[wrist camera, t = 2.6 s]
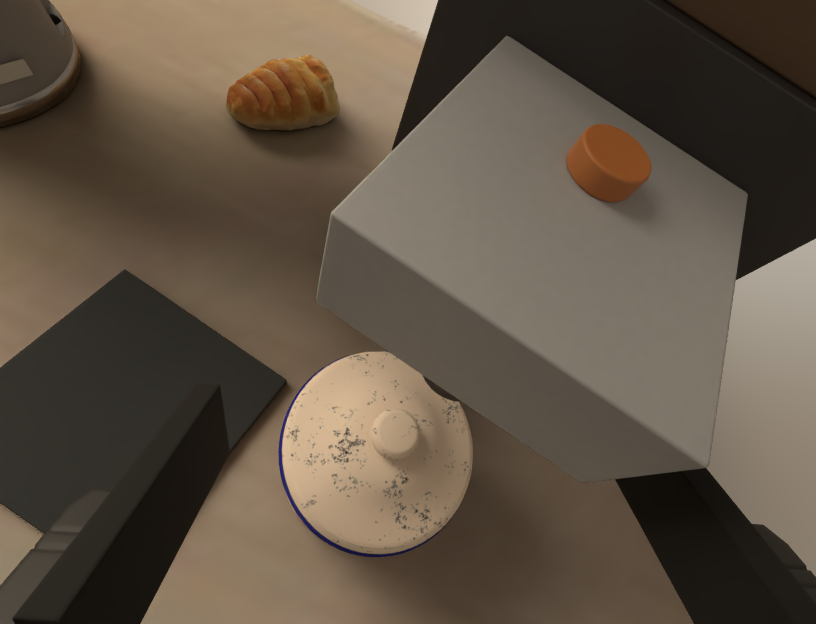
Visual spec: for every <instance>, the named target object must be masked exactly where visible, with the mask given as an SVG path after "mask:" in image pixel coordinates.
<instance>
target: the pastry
mask: <svg viewBox="0 0 816 624" xmlns="http://www.w3.org/2000/svg"><path fill="white" fill-rule="evenodd" d="M226 107H227V110H228V112H229V113H230V115H231V116H232V117H233V118H235V119H236V120H238V121H239V122H241V123H242V124H244V125H246V126H248V127H250V128H255V129H257V130H258V129H264V130H270V129H278V130H282V131H289V130H294V129H303V128H309V127H311V126H314V125H318V126H319V125H323V124H326V123H328V122H329V121H330V120H332V119H333V118H334V117H336V116H337V115H338V113H339V103H338V96H337V93H336V91H335V89H334V83H333V79H332V76H331V74H330V73H329V71H328V69H327V68H326V66H325V65H324V64H323V62H322V61H320V60H318V59H315V58H314V57H313V56H311V55H307V56H302V57H301V58H294V59H281V60H271V61H268V62H267V63H266V64H265V65H263V66H261V67H260V68H257V69H255V70H254V71H253V72H252V73H250V74H247V75H245V76H244V77H243V78H241V79H239V80H237V81H236V83H235V84H234V85H233V86H231V87H230V88H229V91H228V95H227V103H226Z"/></svg>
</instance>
